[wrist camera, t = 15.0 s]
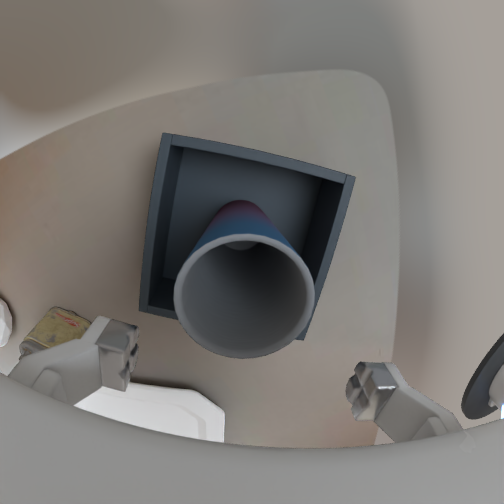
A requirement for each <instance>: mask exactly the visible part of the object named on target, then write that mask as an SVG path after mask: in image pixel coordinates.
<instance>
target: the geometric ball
mask: <svg viewBox="0 0 504 504" xmlns="http://www.w3.org/2000/svg"><path fill="white" fill-rule="evenodd" d="M11 332H12V316H11V314H10V311H9V309H8V306H7V304H6V303H5V302H4V301H3V300H2V299H0V347H2V346H4V345H6V344H7V342H8V339H9V337H10V334H11Z"/></svg>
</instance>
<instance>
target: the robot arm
mask: <svg viewBox="0 0 504 504" xmlns="http://www.w3.org/2000/svg"><path fill="white" fill-rule="evenodd" d="M138 337H139V327H138V326H135V325H131V324H128V323H124V322H121V321H117V320H114V319H110V318H107V317H103V316H97V317H96V318H95V320H94V321H93V322H92V324H91V325H90V326H89V328H88V329H87V331H86V332H85V333H84V335H83V336H82V337H81V339H77V338H76V339H73V340H71V341H68V342H65V343H62V344H59V345H56V346H53V347H51V348H48V349H45V350H42V351H39V352H36V353H33V354H30V355H27V356H24V357H23V358H22V359H21V360H20V361H19V363H18V364H17V365H16V366H15V367H14V369H13V370H12V371H11V372H10V374H9V375H8V376H6V375H4V374H2V373H0V504H504V364H503V365H502V367H501V368H500V370H499V371H498V373H497V374H496V376H495V378H494V379H493V381H492V384H491V386H490V389H489V396H490V400H489V403H488V405H489V406H490V407H493V406H495V405H496V406H497V407H498V408H499V409H500V410H501V411H502V414H501V419H499V420H496V421H493V422H489V423H486V424H483V425H479V426H476V427H473V428H468V429H465V430H463V428H462V426H461V425H460V423H459V422H458V420H457V419H456V417H455V416H454V414H453V413H452V412H450V411H449V410H447V409H445V408H444V407H442V406H441V405H439V404H438V403H436V402H434V401H433V400H431V399H430V398H428V397H427V396H425V395H423V394H422V393H420V392H419V391H417V390H416V389H414V388H412V387H409V386H408V384H407V383H406V381H405V380H404V378H403V376H402V375H401V373H400V372H399V370H398V369H397V367H396V366H395V364H393V363H387V362H381V363H375V362H359V363H358V364H357V365H356V367H355V369H354V371H355V375H354V376H352V377H351V378H350V379H349V381H348V383H347V385H346V397H347V400H348V401H349V402H350V403H351V404H352V408H351V410H352V413H353V415H354V418H355V420H356V421H374V422H375V423H376V424H377V425H378V426H379V427H380V428H381V429H382V430H383V431H384V432H385V433H386V434H387V435H388V436H389V437H390V438H391V439H392V440H393V441H395V443H390V444H382V445H372V446H360V447H343V448H279V447H262V446H249V445H239V444H230V443H222V442H215V441H208V440H201V439H195V438H190V437H184V436H179V435H174V434H169V433H164V432H160V431H155V430H151V429H147V428H143V427H139V426H135V425H132V424H128V423H124V422H121V421H117V420H114V419H111V418H108V417H104V416H101V415H98V414H95V413H92V412H89V411H86V410H84V409H81V408H78V407H75V406H74V405H75V404H77V403H78V402H80V401H81V400H83V399H84V398H86V397H88V396H89V395H91V394H92V393H94V392H95V391H97V390H98V389H100V388H102V386H104V387H107V388H111V389H115V390H118V391H122V392H125V391H126V389H127V386H128V384H129V381H130V373H131V372H133V371H134V369H135V366H136V363H137V359H138V348H139V346H138V345H137V343H136V342H137V340H138Z"/></svg>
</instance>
